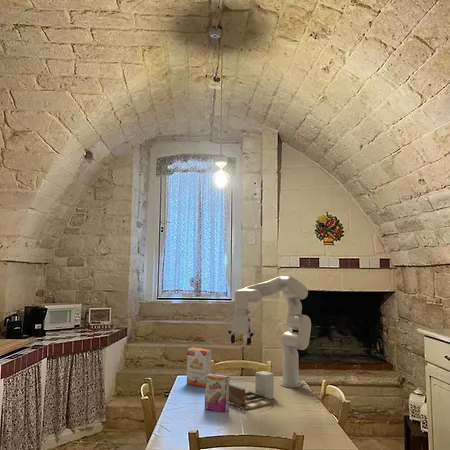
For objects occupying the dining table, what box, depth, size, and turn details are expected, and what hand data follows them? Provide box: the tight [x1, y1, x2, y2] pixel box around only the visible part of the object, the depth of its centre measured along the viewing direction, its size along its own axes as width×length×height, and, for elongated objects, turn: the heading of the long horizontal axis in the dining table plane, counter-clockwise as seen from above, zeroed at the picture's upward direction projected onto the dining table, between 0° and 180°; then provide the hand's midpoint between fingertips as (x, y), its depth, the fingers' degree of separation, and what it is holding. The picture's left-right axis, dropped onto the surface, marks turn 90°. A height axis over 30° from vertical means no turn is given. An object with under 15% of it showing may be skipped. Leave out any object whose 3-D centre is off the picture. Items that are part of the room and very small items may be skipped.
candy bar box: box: [204, 373, 230, 413], centre depth 214 cm, size 11×5×16 cm, turn 71°
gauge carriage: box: [245, 390, 270, 400], centre depth 228 cm, size 8×16×2 cm, turn 38°
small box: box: [254, 370, 275, 401], centre depth 236 cm, size 8×6×13 cm
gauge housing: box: [229, 383, 272, 410], centre depth 226 cm, size 16×18×9 cm
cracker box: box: [186, 347, 213, 388], centre depth 259 cm, size 14×6×21 cm, turn 58°
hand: (240, 344), depth 238 cm, fingers open, 9 cm apart
